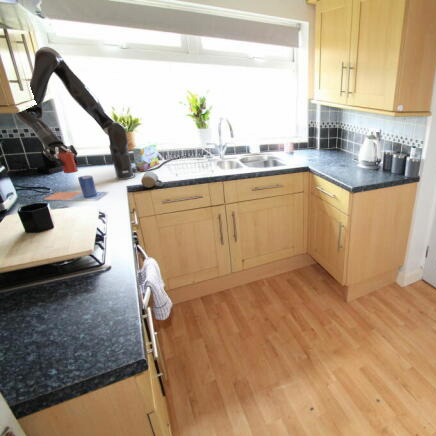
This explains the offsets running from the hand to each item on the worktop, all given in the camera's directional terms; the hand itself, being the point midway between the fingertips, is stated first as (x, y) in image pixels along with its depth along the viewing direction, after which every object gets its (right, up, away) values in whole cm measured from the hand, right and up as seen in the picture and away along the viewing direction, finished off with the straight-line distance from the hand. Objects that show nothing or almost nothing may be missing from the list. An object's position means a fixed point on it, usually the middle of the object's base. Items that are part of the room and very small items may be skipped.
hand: (70, 164), depth 167 cm
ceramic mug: (+34, -10, +18) cm, 39 cm away
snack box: (+10, +7, +54) cm, 56 cm away
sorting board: (+4, -17, -2) cm, 18 cm away
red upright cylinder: (-2, -4, +2) cm, 5 cm away
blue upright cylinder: (+11, -17, -1) cm, 20 cm away
